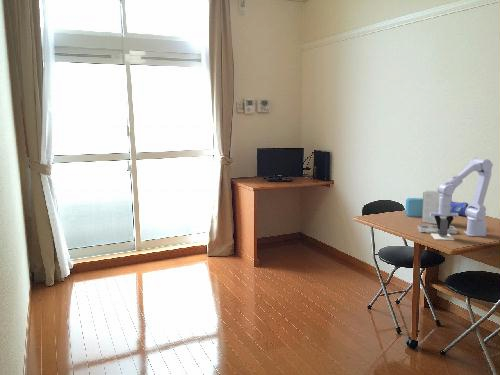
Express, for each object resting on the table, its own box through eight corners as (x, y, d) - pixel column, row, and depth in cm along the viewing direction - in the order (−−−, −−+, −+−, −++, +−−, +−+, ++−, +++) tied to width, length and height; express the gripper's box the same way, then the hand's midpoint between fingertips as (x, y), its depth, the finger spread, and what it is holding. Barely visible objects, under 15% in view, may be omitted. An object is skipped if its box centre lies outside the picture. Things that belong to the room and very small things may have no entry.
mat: (449, 235, 237) (449, 234, 237) (454, 240, 228) (454, 239, 228) (430, 234, 239) (430, 233, 239) (435, 239, 230) (435, 238, 229)
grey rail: (452, 229, 247) (453, 225, 247) (456, 233, 239) (457, 229, 239) (417, 228, 251) (417, 224, 250) (420, 232, 243) (420, 228, 243)
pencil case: (433, 211, 291) (434, 198, 289) (440, 209, 296) (441, 196, 294) (465, 217, 273) (466, 203, 272) (471, 215, 278) (472, 202, 277)
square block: (445, 233, 235) (446, 218, 234) (447, 235, 231) (448, 220, 230) (437, 233, 236) (438, 218, 234) (439, 235, 232) (440, 219, 230)
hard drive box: (450, 223, 260) (452, 192, 257) (446, 226, 255) (448, 194, 251) (425, 219, 271) (427, 189, 267) (421, 222, 265) (422, 191, 262)
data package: (422, 214, 283) (423, 197, 281) (425, 216, 279) (426, 199, 276) (405, 215, 283) (406, 198, 281) (407, 216, 279) (408, 199, 276)
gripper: (456, 204, 233) (454, 227, 235) (429, 203, 235) (427, 226, 238) (460, 207, 226) (458, 230, 228) (432, 206, 228) (430, 229, 231)
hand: (442, 228), depth 233 cm, fingers closed on square block, 4 cm apart
